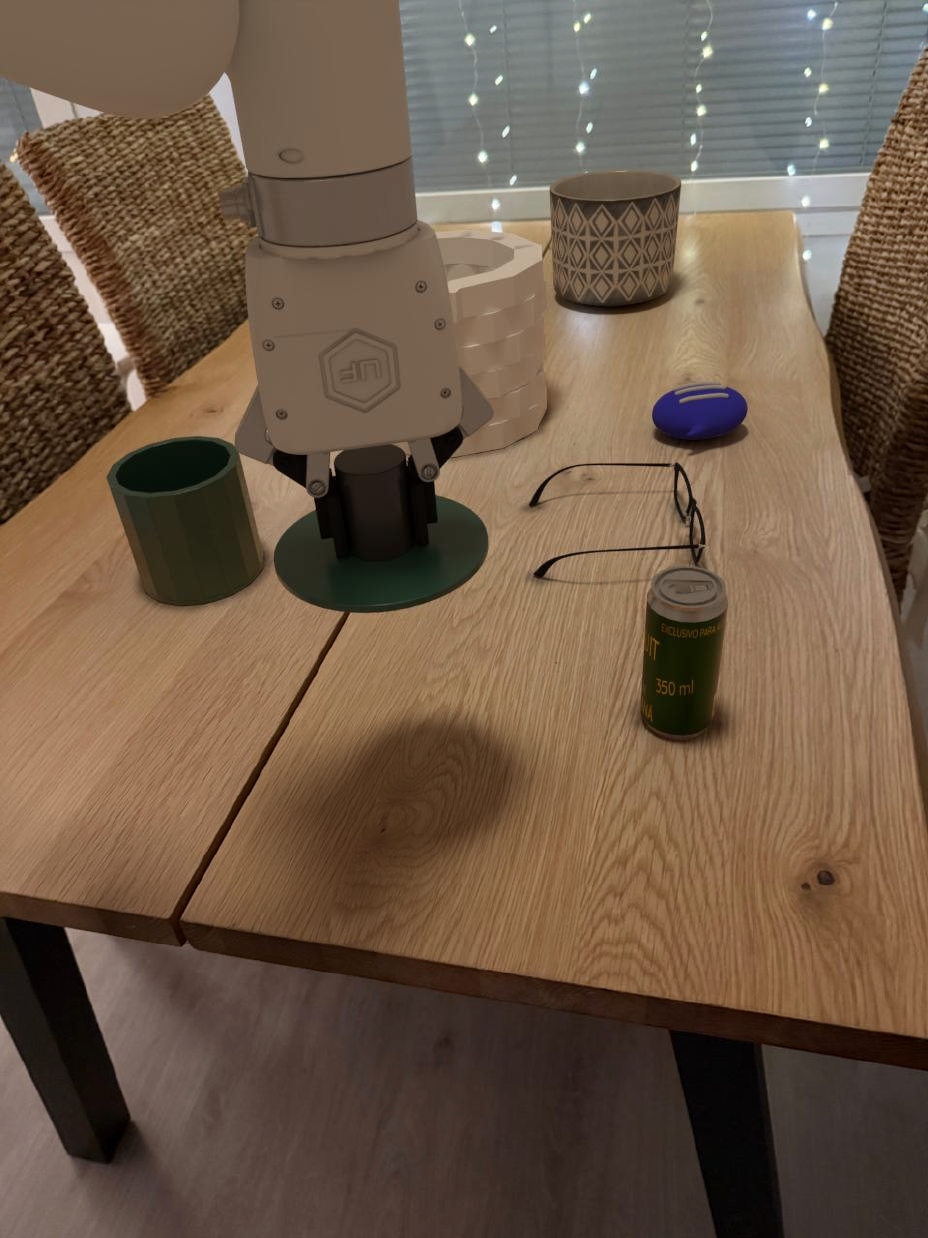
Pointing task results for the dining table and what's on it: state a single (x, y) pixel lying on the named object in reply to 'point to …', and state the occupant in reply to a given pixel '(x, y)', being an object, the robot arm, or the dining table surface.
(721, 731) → the dining table surface
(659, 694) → the green soda can
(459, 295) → the basket
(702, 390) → the decorative object
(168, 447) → the canister
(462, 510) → the lid
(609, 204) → the planter
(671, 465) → the eyeglasses
